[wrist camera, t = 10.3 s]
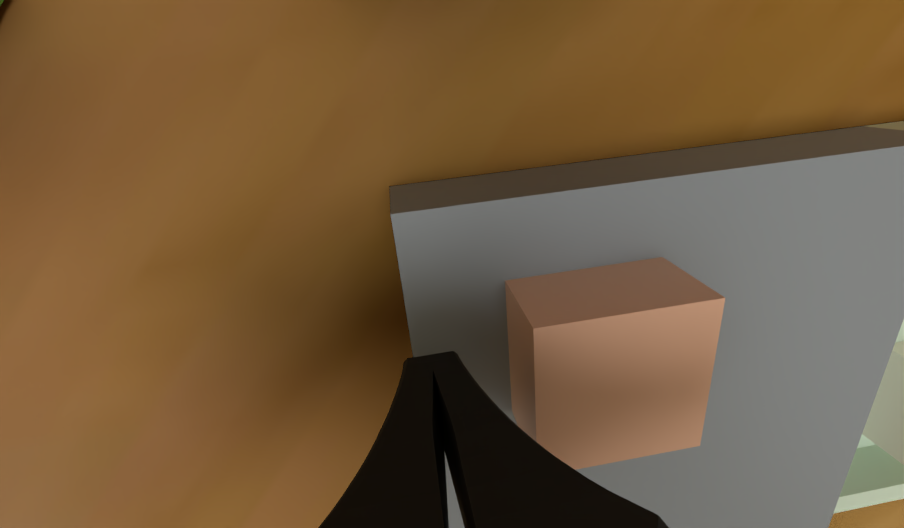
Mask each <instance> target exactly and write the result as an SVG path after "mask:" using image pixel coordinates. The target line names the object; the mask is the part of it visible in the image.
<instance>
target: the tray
mask: <svg viewBox="0 0 904 528" xmlns="http://www.w3.org/2000/svg"><path fill="white" fill-rule="evenodd" d="M866 127H876V128H885V129H895V130H904V121H899V122H891V123H883V124H875V125H868V126H866ZM902 341H904V319H903V322H902V325H901V328H900V331H899V333H898V336H897V339H896V342H902ZM896 342H895V343H896ZM899 499H904V465H903V464H901V463H900V462H899V461H897V460H896V459H895V458H893V457H892V456H891V455H889V454H888V453H887V452H885V451H884V450H883V449H881V448H880V447H879V446H877V445H876V444H875V443H873V442H872V441H871V440H869V439H868V438H867V437H865V436H864V435H863V434H862V435H861V438H860V441H859V444H858V446H857V449H856V452H855V455H854V457H853V460H852V463H851V466H850V468H849V471H848V474H847V477H846V480H845V482H844V485H843V488H842V491H841V493H840V496H839V499H838V502H837V504H836V507H835V510H834V513H838V512H843V511H847V510H852V509H857V508H862V507H866V506H871V505H876V504H881V503H885V502H890V501H895V500H899Z"/></svg>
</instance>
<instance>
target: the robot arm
mask: <svg viewBox="0 0 904 528" xmlns="http://www.w3.org/2000/svg"><path fill="white" fill-rule="evenodd" d="M445 455H446V458H447V462H448V466H449V470H450V474H451V478H452V481H453V485H454V489H455V493H456V497H457V501H458V504H459V508H460V512H461V516H462V520H463V524H464V527H465V528H669V527H668V526H667V525H666V524H665V522H664V521H663V520H662V519H661V517H660V516H659V515H657V514H655V513H653V512H651V511H649V510H647V509H645V508H643V507H641V506H639V505H637V504H635V503H633V502H631V501H629V500H627V499H625V498H623V497H621V496H619V495H617V494H615V493H613V492H611V491H609V490H607V489H605V488H604V487H602V486H600V485H599V484H597V483H595V482H593V481H592V480H590V479H588V478H587V477H585V476H584V475H582V474H581V473H579V472H578V471H576V470H575V469H573V468H572V467H570V466H569V465H567V464H566V463H564V462H563V461H561V460H560V459H558V458H557V457H555V456H554V455H553V454H551V453H550V452H549V451H547V450H546V449H545V448H544V447H542V446H541V445H540V444H538V443H537V442H536V441H535V440H533V439H532V438H531V437H530V436H529V435H528V434H526V433H525V432H524V431H523V430H522V429H521V428H519V427H518V426H517V425H516V424H515V423H514V422H513V421H512V420H511V419H510V418H509V417H508V416H507V415H506V414H505V413H504V412H503V411H502V410H501V409H500V408H499V407H498V406H497V405H496V404H495V403H494V402H493V401H492V400H491V398H490V397H489V396H488V395H487V394H486V393H485V392H484V390H483V389H482V388H481V387H480V386H479V384H478V383H477V382H476V381H475V379H474V378H473V377H472V375H471V374H470V373H469V371H468V370H467V369H466V367H465V366H464V364H463V363H462V361H461V359H460V358H459V356H458V354H457V353H456V352H454V351H449V352H443V353H437V354H431V355H425V356H419V357H412V358H407V359H406V361H405V362H404V364H403V370H402V375H401V379H400V382H399V385H398V388H397V391H396V394H395V397H394V399H393V402H392V405H391V407H390V410H389V412H388V415H387V417H386V419H385V422H384V424H383V426H382V428H381V430H380V432H379V434H378V436H377V439H376V441H375V443H374V444H373V446H372V448H371V450H370V452H369V454H368V456H367V457H366V459H365V461H364V463H363V464H362V466H361V468H360V469H359V471H358V473H357V474H356V476H355V477H354V479H353V480H352V482H351V483H350V485H349V487H348V488H347V490H346V491H345V493H344V494H343V496H342V497H341V499H340V500H339V501H338V503H337V504H336V506H335V507H334V508H333V510H332V511H331V512H330V514H329V515H328V516H327V518H326V519H325V520H324V521H323V523H322V524H321V525H320V526H319V528H449V521H448V503H447V485H446V468H445Z"/></svg>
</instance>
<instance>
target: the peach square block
mask: <svg viewBox="0 0 904 528" xmlns="http://www.w3.org/2000/svg"><path fill="white" fill-rule="evenodd" d="M505 290H506V308H507V327H508V345H509V364H510V383H511V401H512V412H513V414H514V417H515V420H516V422H517V425H518V427H519V428H521V429H522V430H523V431H524V432H525V433H526V434H528V435H529V436H530V437H531V438H532V439H533V440H535V441H536V442H537V443H538V444H540V445H541V446H542V447H544V448H545V449H546V450H547V451H549V452H550V453H551V454H553V455H554V456H555V457H557V458H558V459H560V460H561V461H563V462H564V463H566V464H567V465H569V466H570V467H572V468H573V469H575V470H576V469H582V468H587V467H592V466H597V465H603V464H608V463H613V462H618V461H623V460H629V459H634V458H639V457H644V456H650V455H655V454H660V453H665V452H670V451H676V450H681V449H686V448H691V447H697V446H700V443H701V437H702V432H703V426H704V420H705V414H706V408H707V402H708V397H709V391H710V385H711V379H712V373H713V367H714V362H715V356H716V350H717V344H718V338H719V332H720V327H721V321H722V315H723V309H724V303H725V297H723V296H722V295H720V294H719V293H717V292H716V291H714V290H713V289H711V288H710V287H708V286H706V285H705V284H703V283H702V282H700V281H699V280H697V279H696V278H694V277H693V276H691V275H690V274H688V273H686V272H685V271H683V270H682V269H680V268H679V267H677V266H676V265H674V264H673V263H671V262H670V261H668V260H666V259H665V258H663V257H659V258H652V259H645V260H639V261H632V262H625V263H619V264H612V265H605V266H599V267H592V268H585V269H579V270H572V271H565V272H559V273H552V274H545V275H539V276H532V277H525V278H519V279H512V280H505Z"/></svg>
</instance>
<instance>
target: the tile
mask: <svg viewBox="0 0 904 528" xmlns="http://www.w3.org/2000/svg"><path fill="white" fill-rule="evenodd" d="M862 434H863V435H864V436H865V437H867V438H868V439H869V440H871V441H872V442H873V443H875V444H876V445H877V446H879V447H880V448H881V449H883V450H884V451H885V452H887V453H888V454H889V455H891V456H892V457H893V458H895V459H896V460H897V461H899V462H900V463H901V464H903V465H904V341H902V342H896V343H895V344H894V347H893V350H892V353H891V355H890V358H889V361H888V364H887V366H886V369H885V372H884V375H883V377H882V380H881V383H880V386H879V388H878V391H877V394H876V397H875V400H874V402H873V405H872V408H871V411H870V413H869V416H868V419H867V422H866V424H865V427H864V430H863V433H862Z"/></svg>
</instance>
